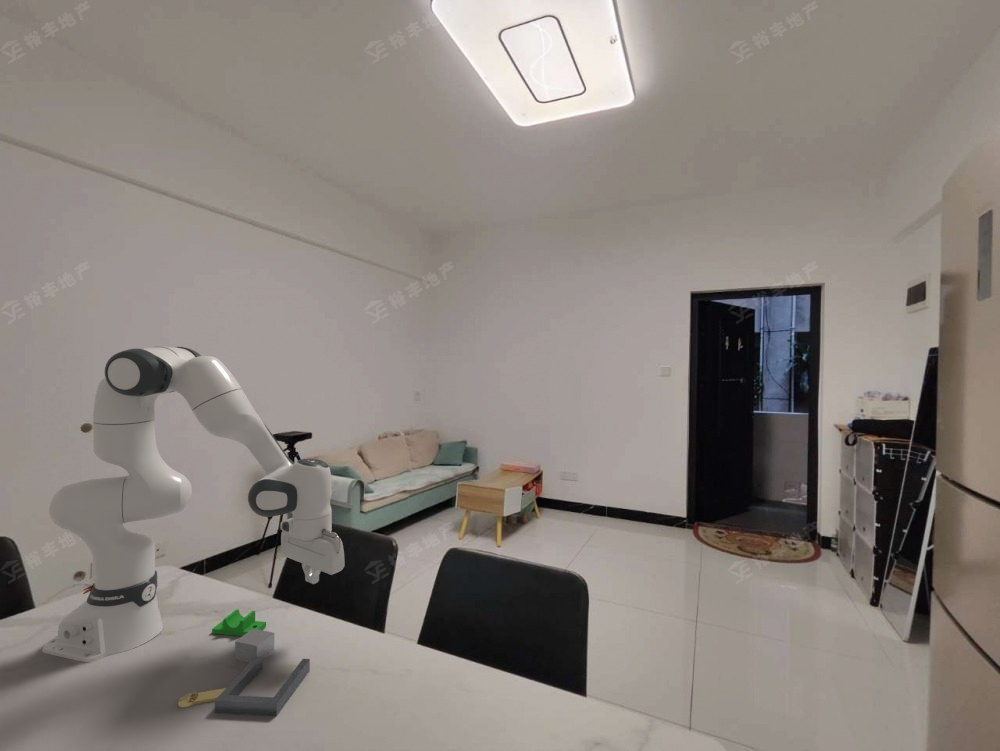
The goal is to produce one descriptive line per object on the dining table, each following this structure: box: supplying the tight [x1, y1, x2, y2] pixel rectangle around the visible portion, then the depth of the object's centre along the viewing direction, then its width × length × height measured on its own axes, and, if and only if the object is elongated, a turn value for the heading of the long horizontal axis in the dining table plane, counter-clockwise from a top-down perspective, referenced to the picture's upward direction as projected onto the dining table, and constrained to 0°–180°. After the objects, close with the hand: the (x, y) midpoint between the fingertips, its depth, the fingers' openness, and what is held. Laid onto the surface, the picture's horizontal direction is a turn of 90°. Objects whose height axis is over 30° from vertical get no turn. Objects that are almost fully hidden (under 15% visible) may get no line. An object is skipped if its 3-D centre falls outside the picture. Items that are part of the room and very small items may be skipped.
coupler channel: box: [214, 657, 311, 717], centre depth 87 cm, size 12×12×3 cm
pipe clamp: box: [211, 608, 267, 637], centre depth 107 cm, size 11×4×5 cm
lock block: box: [234, 629, 275, 664], centre depth 98 cm, size 6×5×4 cm
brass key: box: [177, 687, 227, 709], centre depth 84 cm, size 8×3×1 cm, turn 107°
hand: (312, 581), depth 106 cm, fingers closed
